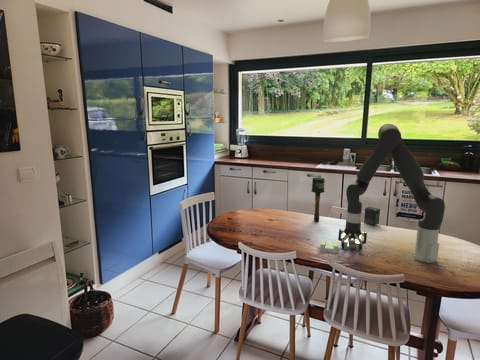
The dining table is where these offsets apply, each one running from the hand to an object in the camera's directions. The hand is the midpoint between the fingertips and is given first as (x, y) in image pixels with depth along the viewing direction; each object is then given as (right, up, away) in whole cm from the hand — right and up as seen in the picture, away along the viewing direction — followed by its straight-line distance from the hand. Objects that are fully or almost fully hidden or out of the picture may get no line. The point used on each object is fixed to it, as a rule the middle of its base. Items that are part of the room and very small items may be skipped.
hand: (351, 249), depth 171 cm
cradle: (-10, -1, +5) cm, 11 cm away
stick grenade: (-7, +9, +49) cm, 50 cm away
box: (+29, +8, +44) cm, 53 cm away
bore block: (+3, 0, +9) cm, 9 cm away
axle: (+3, +2, +7) cm, 7 cm away
